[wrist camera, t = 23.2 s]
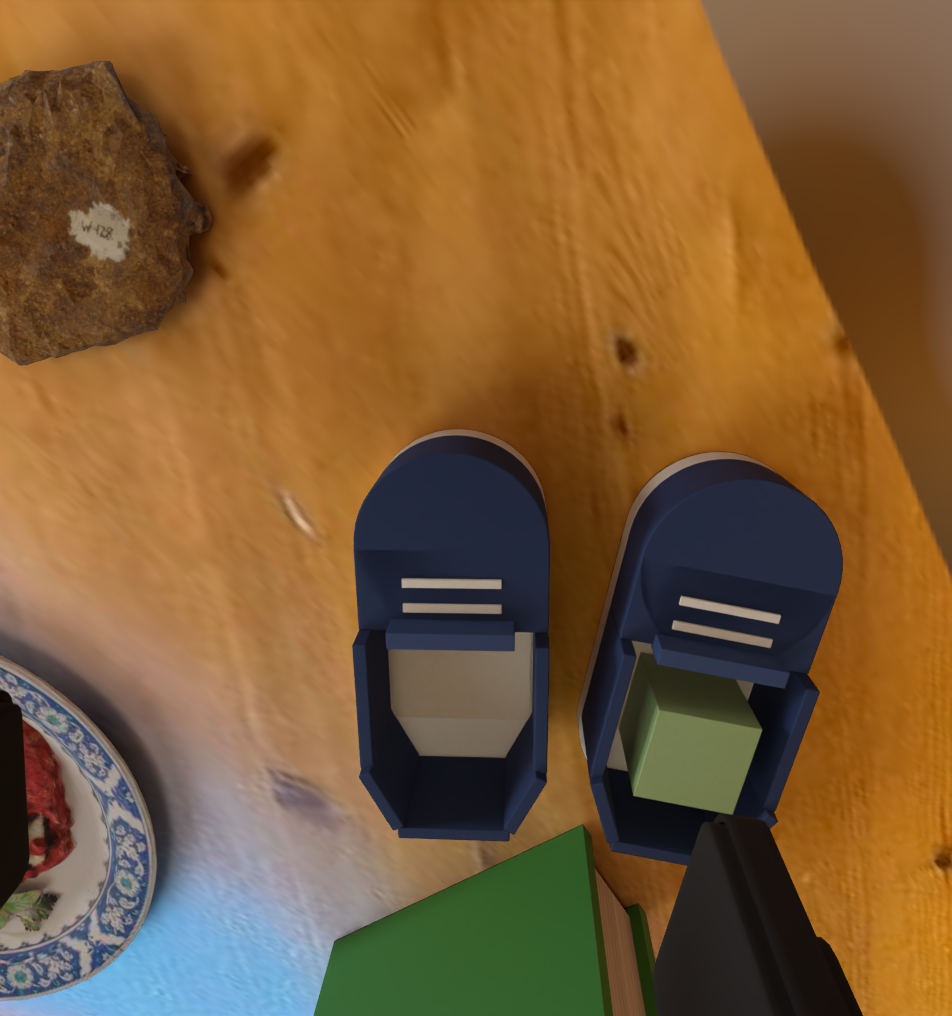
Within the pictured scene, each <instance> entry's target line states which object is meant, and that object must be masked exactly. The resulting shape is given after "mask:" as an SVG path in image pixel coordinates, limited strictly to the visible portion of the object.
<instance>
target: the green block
mask: <svg viewBox="0 0 952 1016" xmlns="http://www.w3.org/2000/svg"><path fill="white" fill-rule="evenodd" d="M619 732H620V737H621V741H622V746H623V750H624V755H625V760H626V764H627V769H628V773H629V778H630V783H631V787H632V792H633V796H637V797H642V798H647V799H652V800H658V801H663V802H668V803H673V804H678V805H684V806H689V807H694V808H699V809H705V810H710V811H715V812H720V813H726V814H733V812H734V809H735V806H736V803H737V801H738V798H739V795H740V792H741V789H742V786H743V784H744V781H745V778H746V775H747V772H748V769H749V767H750V764H751V761H752V758H753V755H754V752H755V750H756V747H757V744H758V741H759V738H760V736H761V733H762V728H761V726H760V724H759V722H758V720H757V718H756V717H755V715H754V713H753V711H752V709H751V707H750V705H749V703H748V701H747V700H746V698H745V696H744V694H743V692H742V690H741V688H740V686H739V685H738V683H737V681H736V679H731V678H726V677H721V676H715V675H710V674H705V673H700V672H694V671H689V670H684V669H679V668H674V667H668V666H663V665H658V664H657V662H656V659H655V657H654V654H648V653H643V652H641V653H640V656H639V659H638V663H637V666H636V670H635V673H634V677H633V681H632V684H631V688H630V691H629V695H628V698H627V702H626V705H625V709H624V712H623V716H622V719H621V723H620V726H619Z"/></svg>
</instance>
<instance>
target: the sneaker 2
mask: <svg viewBox="0 0 952 1016" xmlns="http://www.w3.org/2000/svg"><path fill="white" fill-rule="evenodd" d="M842 571H843V557H842V550H841V545H840V541H839V538H838V535H837V532H836V530H835V528H834V526H833V524H832V522H831V521H830V519H829V518H828V517H827V515H826V514H825V512H824V511H823V510H822V509H821V508H820V507H819V506H818V505H817V504H816V503H815V502H814V501H812V500H811V499H810V498H809V497H807V496H806V495H805V494H803V493H802V492H801V491H800V490H798V489H797V488H796V487H794V486H793V485H792V484H791V483H789V482H788V481H787V480H785V479H784V478H783V477H781V476H780V475H779V474H778V473H776V472H775V471H774V470H772V469H771V468H770V467H768V466H767V465H765V464H763V463H762V462H760V461H758V460H755V459H753V458H751V457H748V456H744V455H740V454H736V453H728V452H710V453H702V454H698V455H694V456H690V457H687V458H684V459H682V460H679V461H677V462H675V463H673V464H671V465H670V466H668V467H666V468H665V469H663V470H662V471H660V472H659V473H658V474H656V475H655V476H654V477H653V478H652V479H651V480H650V481H649V482H648V483H647V484H646V485H645V486H644V488H643V489H642V490H641V491H640V493H639V494H638V496H637V497H636V499H635V500H634V502H633V504H632V506H631V508H630V511H629V514H628V517H627V520H626V523H625V527H624V531H623V535H622V539H621V542H620V546H619V550H618V554H617V558H616V562H615V566H614V569H613V573H612V577H611V581H610V585H609V589H608V592H607V596H606V600H605V604H604V608H603V612H602V616H601V619H600V623H599V627H598V631H597V635H596V639H595V642H594V646H593V650H592V654H591V658H590V662H589V666H588V669H587V673H586V677H585V681H584V685H583V689H582V693H581V696H580V700H579V705H578V715H577V720H578V728H579V736H580V743H581V746H582V750H583V752H584V755H585V757H586V759H587V763H588V770H589V778H590V785H591V789H592V792H593V796H594V799H595V803H596V806H597V809H598V813H599V816H600V820H601V823H602V827H603V830H604V834H605V837H606V841H607V842H608V843H610V850H611V851H614V852H619V853H624V854H629V855H634V856H640V857H645V858H650V859H655V860H661V861H666V862H671V863H676V864H681V865H687V866H688V863H689V860H690V857H691V854H692V851H693V848H694V845H695V842H696V839H697V836H698V833H699V830H700V828H701V826H702V824H703V823H704V822H712V823H714V820H715V818H716V817H717V816H718V815H719V814H720V812H715V811H710V810H705V809H699V808H694V807H689V806H684V805H678V804H673V803H668V802H663V801H658V800H652V799H647V798H642V797H637V796H633V792H632V787H631V783H630V778H629V773H628V769H627V764H626V760H625V755H624V750H623V746H622V741H621V737H620V732H619V726H620V723H621V719H622V716H623V712H624V709H625V705H626V702H627V698H628V695H629V691H630V688H631V684H632V681H633V677H634V673H635V670H636V666H637V663H638V659H639V656H640V653H641V652H643V653H648V654H654V657H655V659H656V662H657V664H658V665H663V666H668V667H674V668H679V669H684V670H689V671H694V672H700V673H705V674H710V675H715V676H721V677H726V678H731V679H736V681H737V683H738V685H739V686H740V688H741V690H742V692H743V694H744V696H745V698H746V700H747V701H748V703H749V705H750V707H751V709H752V711H753V713H754V715H755V717H756V718H757V720H758V722H759V724H760V726H761V728H762V733H761V736H760V738H759V741H758V744H757V747H756V750H755V752H754V755H753V758H752V761H751V764H750V767H749V769H748V772H747V775H746V778H745V781H744V784H743V786H742V789H741V792H740V795H739V798H738V801H737V803H736V806H735V809H734V812H733V814H732V815H738V816H743V817H749V818H755V819H761V820H763V821H764V822H766V824H767V825H768V827H769V829H770V828H771V827H772V826H773V825H775V824H776V823H777V822H778V820H777V818H776V816H775V814H774V812H775V811H776V808H777V805H778V803H779V800H780V797H781V794H782V792H783V789H784V786H785V784H786V781H787V778H788V776H789V773H790V770H791V768H792V765H793V762H794V760H795V757H796V754H797V752H798V749H799V746H800V744H801V741H802V738H803V736H804V733H805V730H806V728H807V725H808V722H809V720H810V717H811V714H812V712H813V709H814V706H815V704H816V701H817V698H818V696H819V693H820V692H819V690H818V689H817V687H816V686H815V684H814V683H813V682H812V680H811V679H810V677H809V676H808V675H807V674H808V673H809V670H810V668H811V665H812V662H813V659H814V657H815V654H816V651H817V648H818V646H819V643H820V640H821V638H822V635H823V632H824V629H825V627H826V624H827V621H828V618H829V616H830V613H831V610H832V607H833V605H834V602H835V599H836V597H837V594H838V590H839V587H840V584H841V578H842Z"/></svg>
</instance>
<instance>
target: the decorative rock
mask: <svg viewBox="0 0 952 1016" xmlns="http://www.w3.org/2000/svg"><path fill="white" fill-rule="evenodd" d="M165 137H166V135H165V134H164V133H163V132H162V130H161V127H160V124H159V121H158V118H157V116H156V115H154V114H152V113H151V112H149V111H147V110H145V109H143V108H141V107H140V106H139V105H137V104H136V103H135V102H133V101H132V100H131V99H130V98H128V97H127V95H126V93H125V91H124V89H123V88H122V85H121V83H120V81H119V79H118V77H117V75H116V73H115V70H114V68H113V65H112V63H111V62H110V61H96V62H92V63H90V64H87V65H82V66H77V67H71V68H68V69H65V70H61V71H54V70H52V71H29V70H25V71H24V72H23V73H22V74H21V75H20V76H16V77H13V78H10V79H8V80H7V81H5V82H4V83H2V84H0V353H2V354H3V355H5V356H6V357H8V358H9V359H11V360H12V361H14V362H15V363H17V364H18V365H29V364H31V363H34V362H37V361H41V360H44V359H47V358H49V357H51V356H53V357H55V358H57V357H61V356H64V355H67V354H70V353H72V352H76V351H80V350H85V349H87V348H89V347H91V346H93V345H95V346H107V345H114V344H117V343H119V342H121V341H123V340H125V339H127V338H129V337H132V336H135V335H138V334H141V333H144V332H149V331H153V330H157V329H158V327H159V325H160V323H161V321H162V319H163V317H164V315H165V314H166V313H167V312H168V311H169V310H170V309H171V308H172V307H173V306H174V305H175V304H177V303H180V302H185V303H186V293H185V292H183V291H184V289H185V287H186V285H187V284H188V282H189V280H190V278H191V276H192V274H193V272H194V270H193V268H192V267H191V265H190V264H189V259H190V258H191V256H190V250H189V237H190V235H192V234H194V233H199V234H200V233H201V232H205V231H207V230H208V229H209V228H210V226H211V223H212V217H211V214H210V211H209V208H208V206H206V205H204V204H200V203H196V202H195V201H194V200H193V198H192V196H191V195H190V194H189V192H188V191H187V190H186V188H185V187H184V186H183V184H182V183H181V182H180V180H179V178H182V177H187V176H192V174H191V172H190V171H189V169H188V167H186V166H181V165H180V164H179V162H178V161H177V159H176V158H175V157H174V156H173V155H172V154H171V153H170V151H169V148H168V145H167V142H166V139H165Z"/></svg>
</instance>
